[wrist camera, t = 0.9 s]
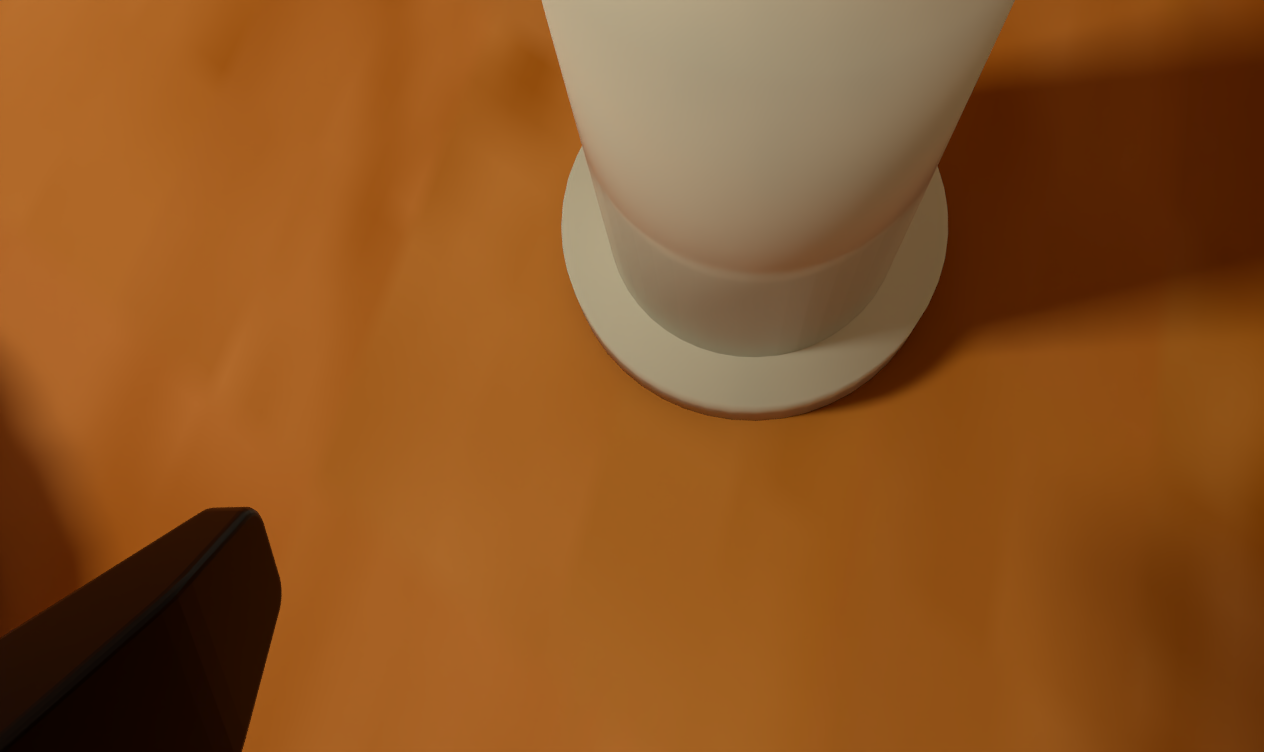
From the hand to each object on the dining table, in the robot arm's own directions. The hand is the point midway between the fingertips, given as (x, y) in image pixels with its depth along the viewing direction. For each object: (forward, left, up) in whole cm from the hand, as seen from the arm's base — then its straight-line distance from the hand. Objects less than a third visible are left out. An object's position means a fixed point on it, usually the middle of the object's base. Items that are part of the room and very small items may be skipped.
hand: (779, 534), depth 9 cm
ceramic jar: (+7, -3, -13) cm, 15 cm away
